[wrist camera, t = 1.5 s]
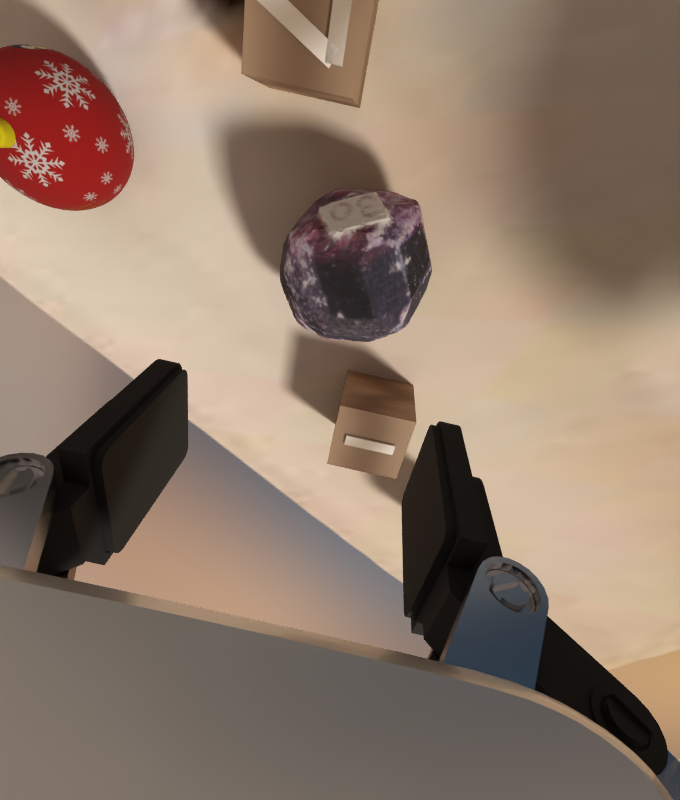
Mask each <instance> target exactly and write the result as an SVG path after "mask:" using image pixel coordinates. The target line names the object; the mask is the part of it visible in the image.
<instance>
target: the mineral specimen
mask: <svg viewBox="0 0 680 800" xmlns="http://www.w3.org/2000/svg"><path fill="white" fill-rule="evenodd" d="M431 272H432V268H431V262H430V257H429V251H428V245H427V241H426V236H425V230H424V225H423V220H422V214H421V210H420V206H419V203H418V202H417V201H416V200H414V199H410V198H407V197H404V196H402V195H399V194H398V193H395V192H390V191H382V190H363V189H339V190H335V191H332V192H330V193H328V194H326V195H325V196H323V197H321V198H320V199H319V200H317V201H316V202H315V203H314V204H313V205H312V206H311V207H310V208H309V209H308V210H307V211H306V213H305V214H304V215H303V216H302V217H301V218H300V219H299V221H298V222H297V223H296V225H295V226H294V227H293V229H292V230H291V231H290V233H289V234H288V236H287V239H286V241H285V243H284V247H283V253H282V260H281V266H280V282H281V284H282V287H283V290H284V293H285V295H286V299H287V301H288V302H289V306H290V308H291V310H292V312H293V315H294V317H295V319H296V321H297V322H298V323H299V324H300V325H301V326H302V327H304V328H305V329H307V330H309V331H311V332H312V333H314V334H316V335H319V336H320V337H322V338H328V339H333V340H351V341H361V342H370V341H374V340H376V339H379V338H382V337H386V336H388V335H390V334H393V333H396V332H398V331H399V330H401V329H403V328H404V327H406V325H407V324H408V323H409V321H410V319H411V317H412V315H413V314H414V312H415V310H416V308H417V307H418V305H419V303H420V300H421V298H422V297H423V295H424V293H425V291H426V288H427V285H428V282H429V279H430V276H431Z"/></svg>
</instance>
